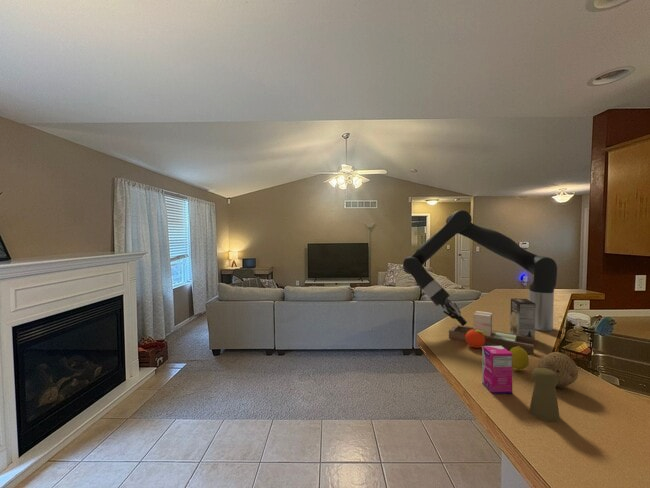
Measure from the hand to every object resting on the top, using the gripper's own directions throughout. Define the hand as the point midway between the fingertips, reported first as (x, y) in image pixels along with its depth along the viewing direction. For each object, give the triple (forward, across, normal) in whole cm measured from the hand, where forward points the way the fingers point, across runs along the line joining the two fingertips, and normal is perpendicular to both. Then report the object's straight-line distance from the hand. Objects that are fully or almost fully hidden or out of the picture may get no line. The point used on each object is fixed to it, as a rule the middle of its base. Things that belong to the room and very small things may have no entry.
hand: (465, 324), depth 130 cm
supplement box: (+16, -42, -8) cm, 45 cm away
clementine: (+8, -11, 0) cm, 14 cm away
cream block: (+6, 0, -3) cm, 7 cm away
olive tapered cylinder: (+24, -48, -16) cm, 56 cm away
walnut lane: (+11, 0, -3) cm, 11 cm away
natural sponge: (+26, -30, -18) cm, 44 cm away
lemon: (+19, -24, -11) cm, 33 cm away
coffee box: (+18, +12, -10) cm, 24 cm away
